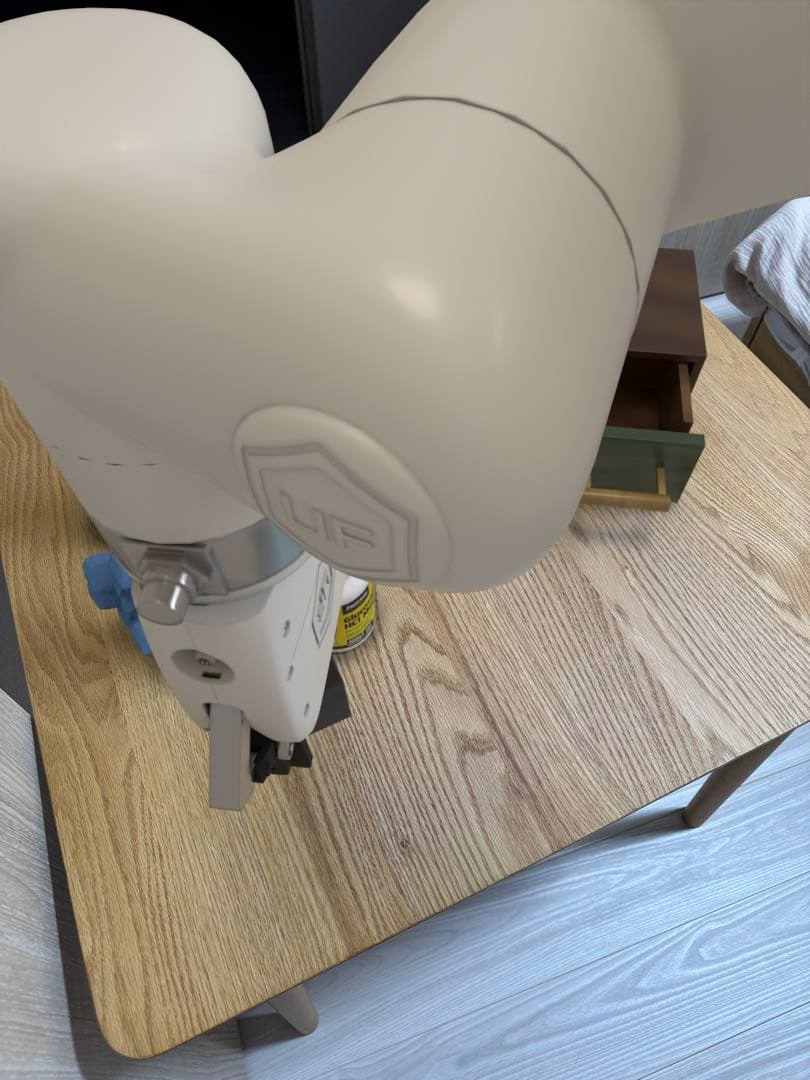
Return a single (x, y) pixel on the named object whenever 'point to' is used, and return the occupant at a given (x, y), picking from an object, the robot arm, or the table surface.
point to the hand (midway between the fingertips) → (295, 692)
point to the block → (332, 700)
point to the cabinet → (671, 314)
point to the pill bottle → (354, 614)
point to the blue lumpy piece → (114, 593)
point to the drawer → (646, 439)
